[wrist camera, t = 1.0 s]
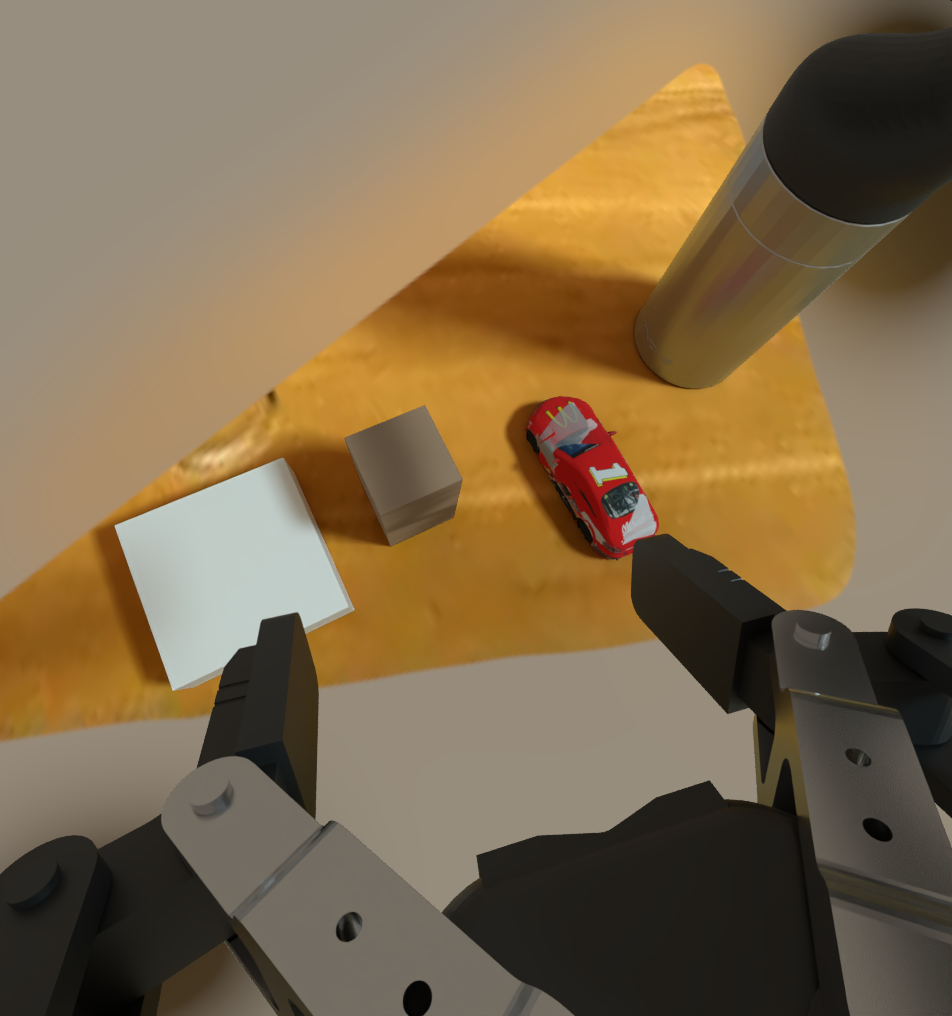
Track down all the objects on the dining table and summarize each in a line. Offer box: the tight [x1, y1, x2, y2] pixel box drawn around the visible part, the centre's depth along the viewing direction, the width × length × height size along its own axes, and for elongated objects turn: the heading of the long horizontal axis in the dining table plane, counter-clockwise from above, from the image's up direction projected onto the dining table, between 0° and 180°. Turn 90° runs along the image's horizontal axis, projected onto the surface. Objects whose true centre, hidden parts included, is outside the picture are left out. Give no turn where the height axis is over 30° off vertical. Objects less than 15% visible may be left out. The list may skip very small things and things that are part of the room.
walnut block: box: [345, 405, 463, 546], centre depth 34 cm, size 5×5×9 cm
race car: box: [526, 396, 659, 560], centre depth 38 cm, size 13×5×4 cm, turn 27°
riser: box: [115, 457, 354, 691], centre depth 34 cm, size 11×11×3 cm
